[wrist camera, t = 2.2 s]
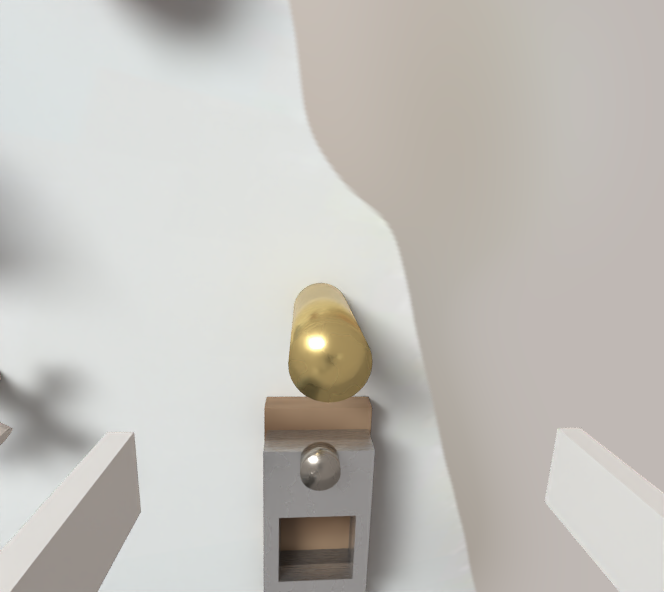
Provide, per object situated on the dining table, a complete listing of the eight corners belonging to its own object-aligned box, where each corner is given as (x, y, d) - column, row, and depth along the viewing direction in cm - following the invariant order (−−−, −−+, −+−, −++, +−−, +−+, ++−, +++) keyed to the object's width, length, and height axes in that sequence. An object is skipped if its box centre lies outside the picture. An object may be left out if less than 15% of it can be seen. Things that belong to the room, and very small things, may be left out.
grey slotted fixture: (357, 606, 36) (365, 661, 32) (267, 610, 36) (261, 667, 31) (368, 420, 32) (379, 453, 28) (266, 421, 32) (261, 455, 27)
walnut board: (356, 595, 39) (359, 616, 37) (266, 600, 38) (264, 621, 36) (368, 396, 34) (372, 407, 32) (266, 397, 33) (264, 408, 31)
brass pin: (345, 335, 33) (369, 402, 21) (293, 334, 32) (287, 402, 21) (348, 283, 32) (374, 324, 20) (294, 282, 31) (288, 323, 20)
